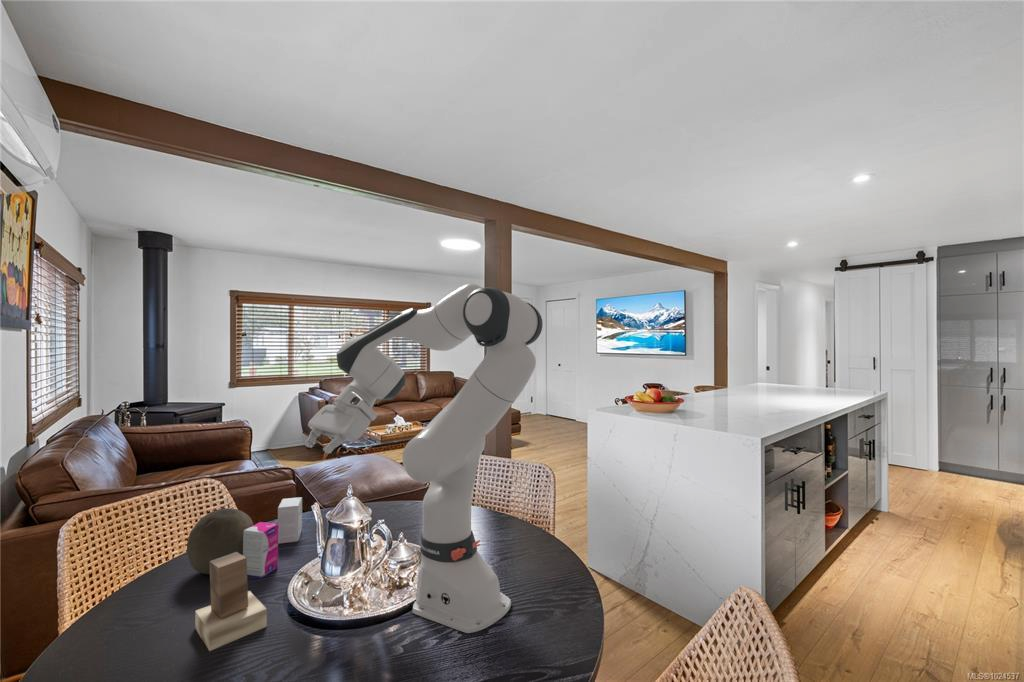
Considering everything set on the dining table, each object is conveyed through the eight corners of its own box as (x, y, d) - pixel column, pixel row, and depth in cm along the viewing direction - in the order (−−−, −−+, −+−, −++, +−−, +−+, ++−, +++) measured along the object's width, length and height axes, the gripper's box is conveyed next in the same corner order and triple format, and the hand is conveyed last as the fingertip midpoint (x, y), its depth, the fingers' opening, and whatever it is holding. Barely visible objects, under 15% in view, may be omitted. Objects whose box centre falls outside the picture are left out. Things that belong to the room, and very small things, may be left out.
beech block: (266, 628, 92) (266, 608, 92) (209, 653, 85) (209, 632, 85) (249, 608, 99) (249, 590, 99) (195, 630, 92) (195, 610, 92)
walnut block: (248, 606, 92) (246, 557, 93) (220, 619, 89) (218, 567, 89) (238, 599, 96) (236, 551, 96) (211, 610, 92) (209, 561, 92)
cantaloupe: (217, 588, 107) (218, 524, 107) (172, 579, 110) (172, 518, 110) (265, 560, 120) (265, 504, 120) (223, 553, 124) (223, 498, 124)
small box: (282, 533, 137) (282, 498, 137) (302, 530, 139) (302, 496, 139) (277, 544, 130) (277, 507, 130) (298, 541, 131) (298, 505, 131)
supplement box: (262, 579, 111) (262, 532, 111) (241, 576, 112) (241, 530, 112) (279, 567, 116) (279, 523, 116) (259, 565, 118) (259, 521, 118)
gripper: (324, 394, 125) (288, 435, 118) (365, 401, 112) (328, 447, 105) (339, 409, 129) (305, 449, 121) (381, 416, 116) (346, 462, 108)
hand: (316, 448), depth 113 cm, fingers open, 8 cm apart
